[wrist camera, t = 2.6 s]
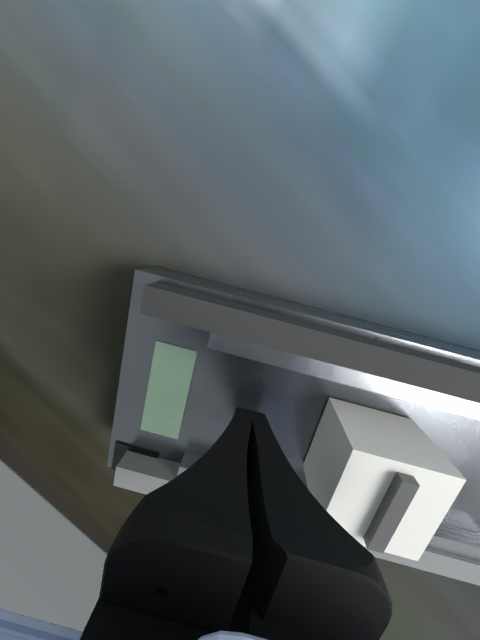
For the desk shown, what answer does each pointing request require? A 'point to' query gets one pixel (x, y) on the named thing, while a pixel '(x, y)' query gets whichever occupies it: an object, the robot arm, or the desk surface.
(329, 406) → the breaker knob
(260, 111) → the desk surface
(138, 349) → the slider track
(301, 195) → the desk surface
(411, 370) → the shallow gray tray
